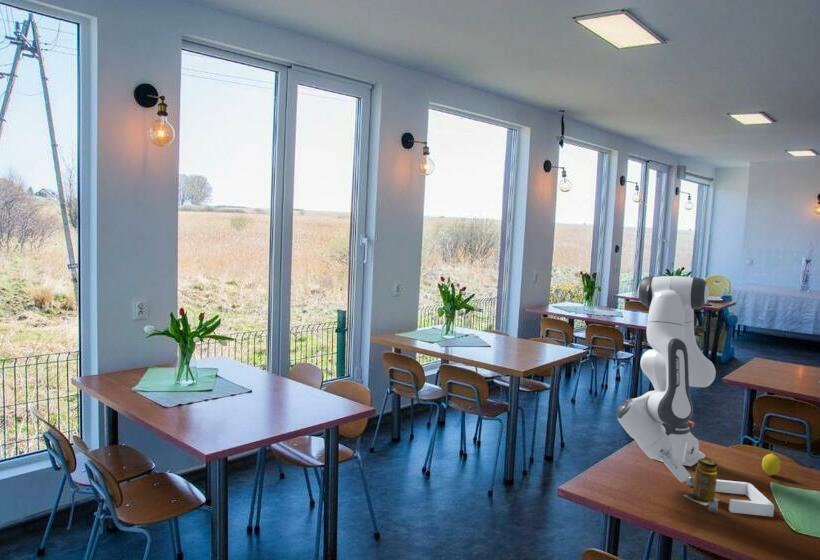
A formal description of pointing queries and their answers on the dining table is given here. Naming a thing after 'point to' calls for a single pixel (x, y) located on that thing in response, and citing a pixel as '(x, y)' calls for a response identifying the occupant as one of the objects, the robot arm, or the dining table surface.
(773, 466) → the lemon
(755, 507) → the holder
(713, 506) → the cylinder
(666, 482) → the dining table surface
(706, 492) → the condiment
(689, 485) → the cylinder
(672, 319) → the robot arm
